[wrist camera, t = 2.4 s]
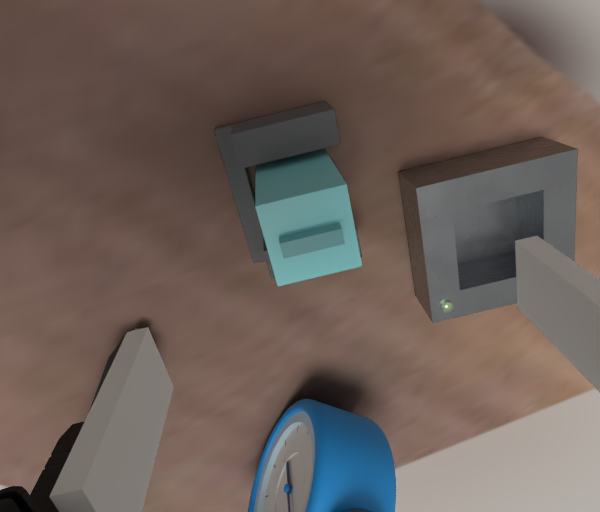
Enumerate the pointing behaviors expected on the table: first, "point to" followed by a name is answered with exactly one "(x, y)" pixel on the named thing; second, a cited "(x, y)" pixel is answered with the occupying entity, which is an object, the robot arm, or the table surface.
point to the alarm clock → (324, 463)
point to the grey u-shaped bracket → (271, 156)
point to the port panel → (485, 221)
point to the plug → (305, 217)
